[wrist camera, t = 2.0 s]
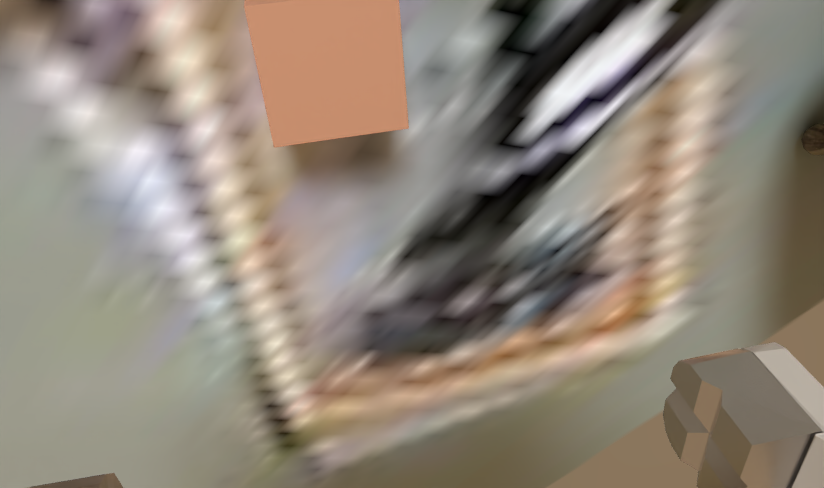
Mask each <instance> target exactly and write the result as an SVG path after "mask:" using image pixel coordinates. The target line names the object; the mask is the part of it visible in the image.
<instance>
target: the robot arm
mask: <svg viewBox="0 0 824 488" xmlns="http://www.w3.org/2000/svg"><path fill="white" fill-rule="evenodd" d="M670 379H671V381H672V382H673V384H674V385H675V387H676V389H675V390H674V391H673V392H672V393H671V394H670V395H669V396H668V397H667V398H666V400H665V406H664V411H663V418H664V424H665V430H666V433H667V436H668V438H669V441H670V443H671V446H672V447H673V449H674V450H675V452H676V454H677V455H678V457H679V459H680V460H681V461H683V462H684V463H686V464H688V465H689V466H691V467H693V468H694V469H696V470H698V478H697V487H698V488H824V387H823V386H822V385H821V384H820V383H819V382H818V381H817V380H816V379H815V378H814V377H813V376H812V375H811V374H810V373H809V372H808V371H807V370H806V369H805V368H804V366H803V365H802V364H801V363H800V362H799V361H798V360H797V359H796V358H795V357H794V356H793V355H792V354H791V353H790V352H789V351H788V350H787V349H786V348H785V347H784V346H782V345H780V344H778V343H776V342H772V343H767V344H762V345H756V346H751V347H746V348H742V349H733V350H728V351H723V352H719V353H714V354H709V355H704V356H699V357H695V358H690V359H685V360H680V361H678V363H677V364H676V365H675V366H674V367H673V370H672V374H671V378H670ZM27 488H123V486H122V485H121V483H120V481H119V480H118V478H117V477H116V475H115V473H110V474H103V475H97V476H91V477H85V478H79V479H73V480H67V481H61V482H56V483H50V484H44V485H38V486H32V487H27Z"/></svg>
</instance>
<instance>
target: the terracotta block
mask: <svg viewBox="0 0 824 488" xmlns="http://www.w3.org/2000/svg"><path fill="white" fill-rule="evenodd" d="M244 8H245V13H246V17H247V22H248V27H249V32H250V36H251V41H252V46H253V50H254V55H255V60H256V64H257V69H258V74H259V79H260V83H261V88H262V93H263V97H264V102H265V107H266V112H267V116H268V121H269V126H270V130H271V135H272V140H273V145H274V147H281V146H288V145H295V144H302V143H309V142H316V141H323V140H330V139H337V138H344V137H351V136H358V135H365V134H373V133H380V132H387V131H394V130H401V129H408V128H409V126H408V113H407V100H406V87H405V74H404V61H403V48H402V35H401V22H400V9H399V0H245V3H244Z"/></svg>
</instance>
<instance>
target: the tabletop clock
mask: <svg viewBox="0 0 824 488" xmlns="http://www.w3.org/2000/svg"><path fill="white" fill-rule="evenodd" d="M802 143H803V147H804V149H805V150H807V151H808V152H809V153H810V154H812V155H824V124H816V125H814V126H812V127H811V128H809V129H808V130H806V131H805V133H804V135H803V138H802Z"/></svg>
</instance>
